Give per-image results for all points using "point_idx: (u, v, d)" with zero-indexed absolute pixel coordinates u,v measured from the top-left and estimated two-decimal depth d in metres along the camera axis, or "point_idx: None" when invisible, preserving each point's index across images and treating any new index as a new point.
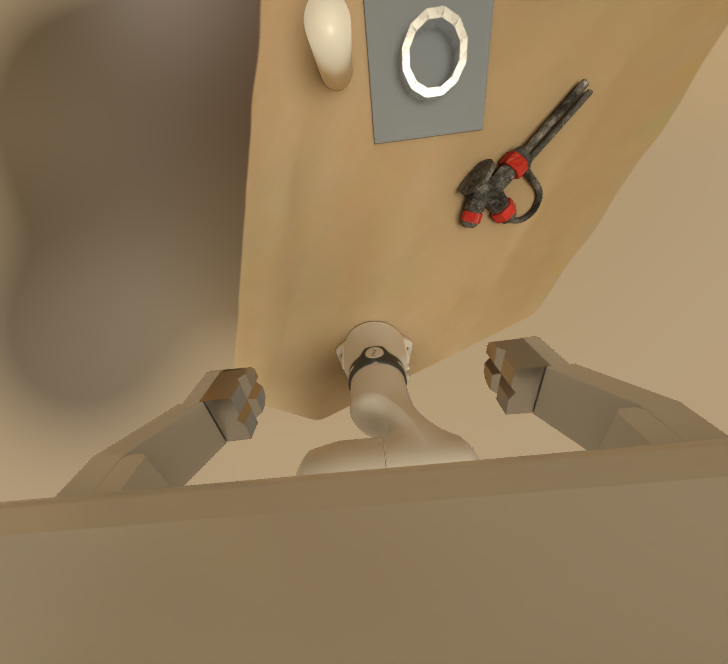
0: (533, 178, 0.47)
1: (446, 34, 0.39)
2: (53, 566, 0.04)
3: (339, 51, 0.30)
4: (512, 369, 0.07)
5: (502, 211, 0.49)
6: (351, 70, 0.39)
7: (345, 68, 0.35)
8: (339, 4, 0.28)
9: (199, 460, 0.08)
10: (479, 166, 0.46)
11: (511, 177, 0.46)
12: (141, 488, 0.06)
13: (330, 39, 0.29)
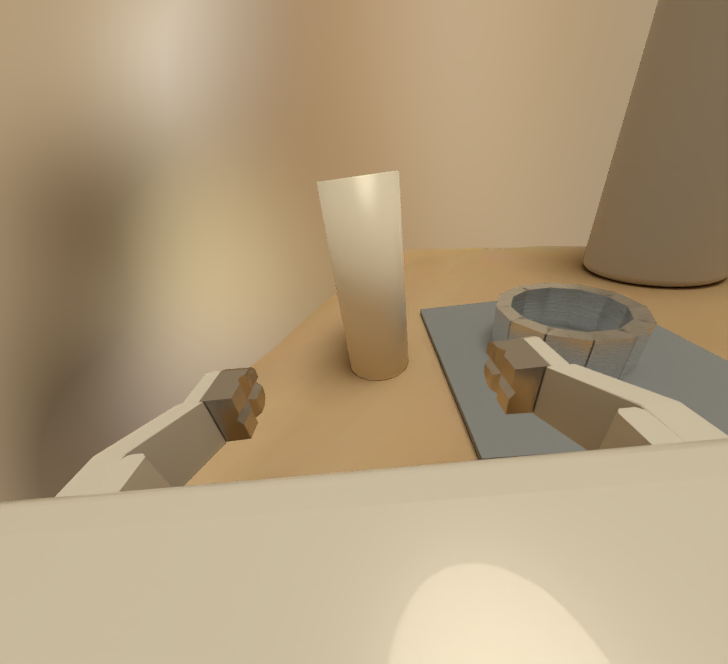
0: None
1: (565, 324, 0.23)
2: (53, 566, 0.04)
3: None
4: (512, 369, 0.07)
5: None
6: (405, 340, 0.21)
7: (391, 285, 0.18)
8: None
9: (199, 460, 0.08)
10: None
11: None
12: (141, 488, 0.06)
13: None
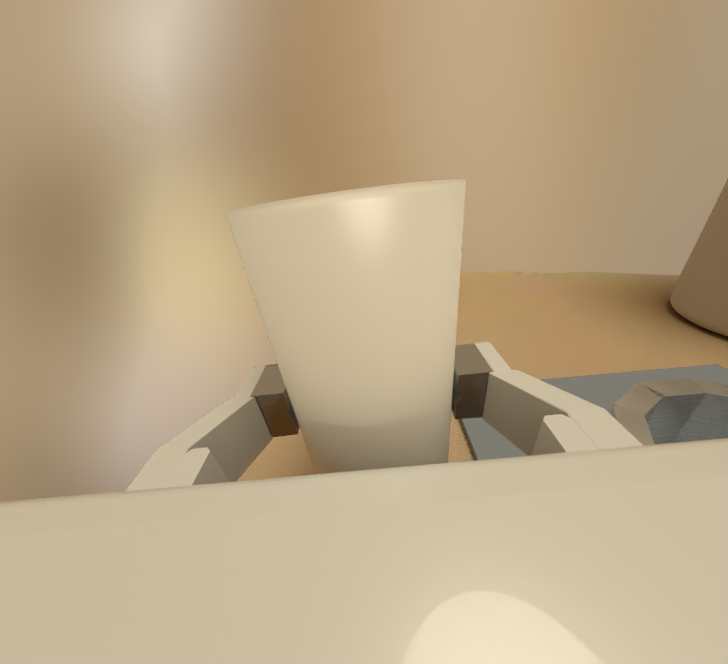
0: None
1: None
2: (53, 566, 0.04)
3: (398, 196, 0.04)
4: (457, 375, 0.08)
5: None
6: None
7: (428, 455, 0.07)
8: (405, 184, 0.07)
9: (250, 455, 0.08)
10: None
11: None
12: (208, 482, 0.06)
13: (345, 198, 0.05)
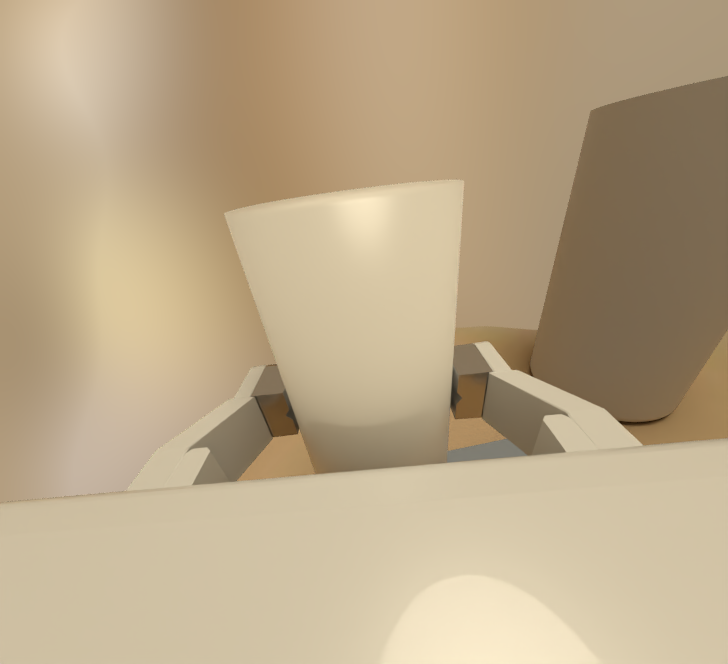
0: None
1: None
2: (53, 566, 0.04)
3: (396, 196, 0.04)
4: (457, 375, 0.08)
5: None
6: None
7: (426, 454, 0.07)
8: (404, 184, 0.07)
9: (250, 455, 0.08)
10: None
11: None
12: (208, 482, 0.06)
13: (344, 198, 0.05)
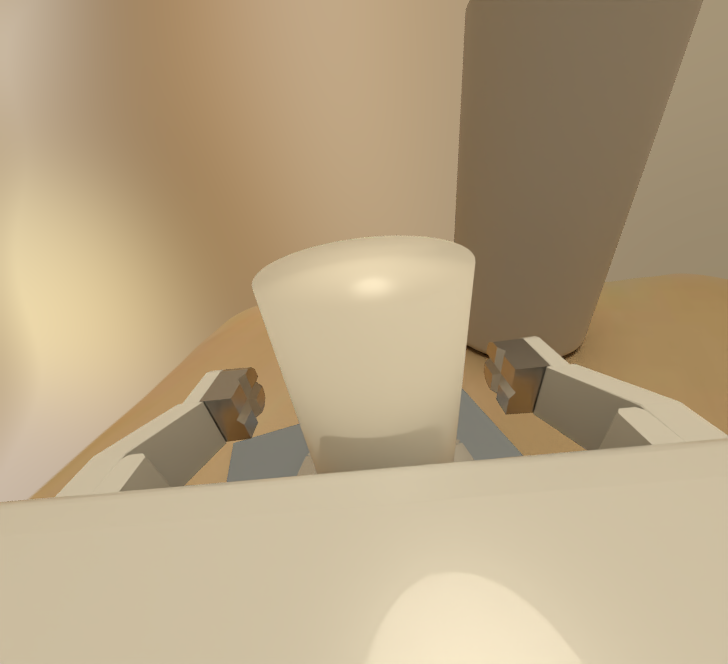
0: None
1: None
2: (53, 566, 0.04)
3: (415, 295, 0.04)
4: (512, 369, 0.07)
5: None
6: None
7: None
8: (416, 242, 0.07)
9: (199, 460, 0.08)
10: None
11: None
12: (141, 488, 0.06)
13: (364, 278, 0.05)
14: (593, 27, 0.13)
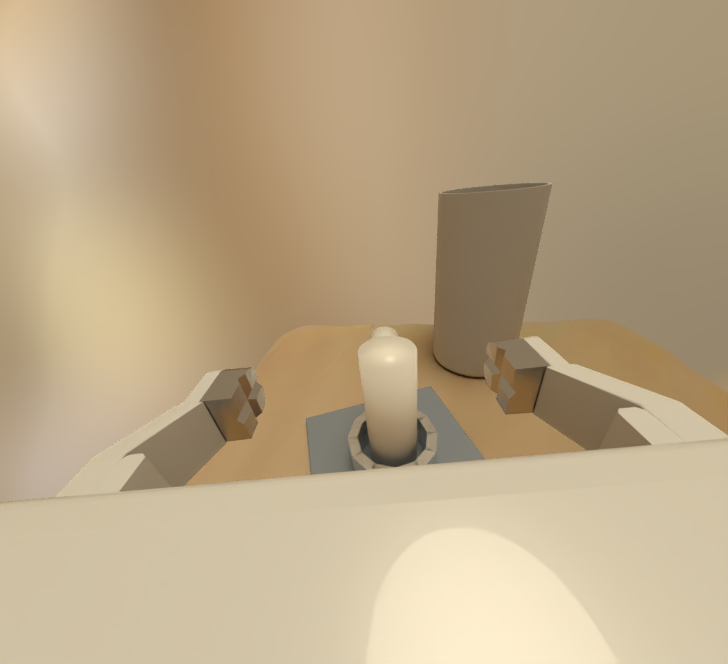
0: None
1: None
2: (53, 566, 0.04)
3: (400, 365, 0.21)
4: (512, 369, 0.07)
5: None
6: (416, 449, 0.27)
7: (408, 422, 0.24)
8: (403, 341, 0.24)
9: (199, 460, 0.08)
10: None
11: None
12: (141, 488, 0.06)
13: (388, 358, 0.22)
14: (490, 229, 0.30)
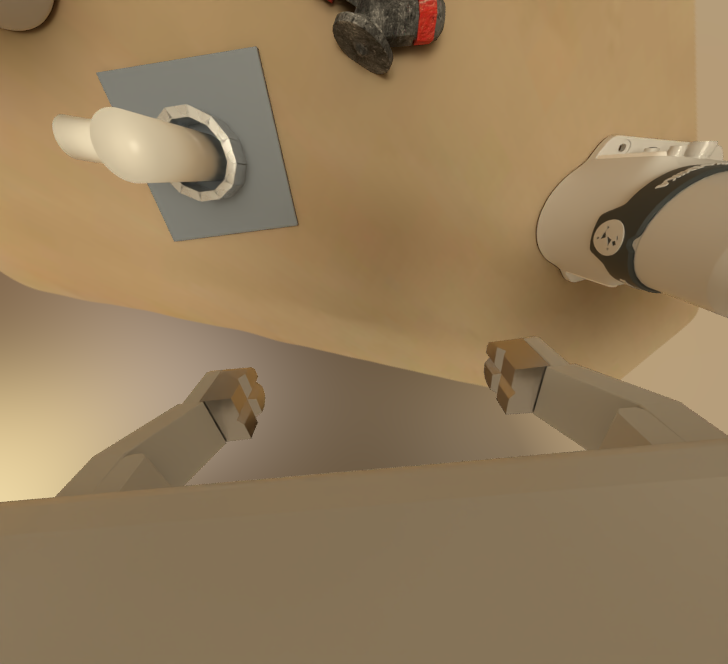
0: None
1: None
2: (53, 566, 0.04)
3: (152, 138, 0.21)
4: (512, 369, 0.07)
5: None
6: (206, 134, 0.30)
7: (192, 140, 0.26)
8: (102, 120, 0.20)
9: (199, 460, 0.08)
10: (346, 46, 0.28)
11: None
12: (141, 488, 0.06)
13: (141, 149, 0.21)
14: None
